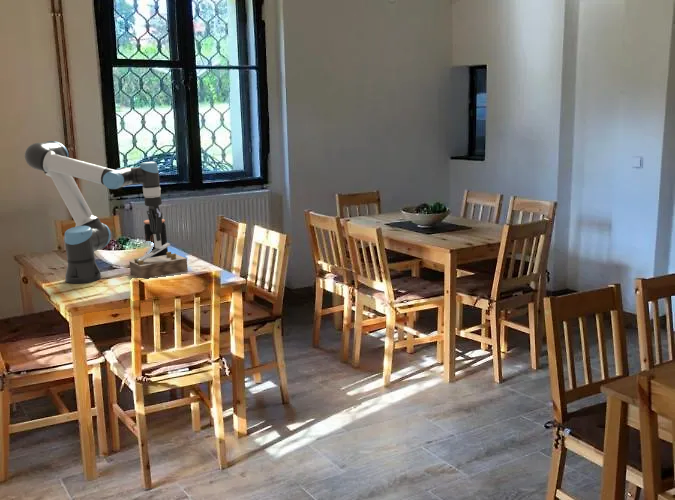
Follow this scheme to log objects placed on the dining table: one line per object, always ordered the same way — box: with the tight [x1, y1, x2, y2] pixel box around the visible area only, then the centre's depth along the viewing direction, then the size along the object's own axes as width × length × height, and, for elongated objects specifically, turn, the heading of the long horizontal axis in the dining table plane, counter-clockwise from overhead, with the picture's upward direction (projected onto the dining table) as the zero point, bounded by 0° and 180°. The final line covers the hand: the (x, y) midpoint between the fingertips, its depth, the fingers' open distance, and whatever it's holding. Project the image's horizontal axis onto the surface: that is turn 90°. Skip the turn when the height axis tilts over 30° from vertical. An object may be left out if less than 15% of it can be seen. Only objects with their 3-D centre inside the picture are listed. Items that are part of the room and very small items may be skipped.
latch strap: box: [136, 242, 171, 262], centre depth 326 cm, size 17×3×2 cm, turn 125°
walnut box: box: [129, 251, 188, 279], centre depth 328 cm, size 22×14×8 cm, turn 126°
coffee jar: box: [143, 218, 169, 258], centre depth 364 cm, size 11×11×18 cm
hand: (158, 247), depth 326 cm, fingers closed
